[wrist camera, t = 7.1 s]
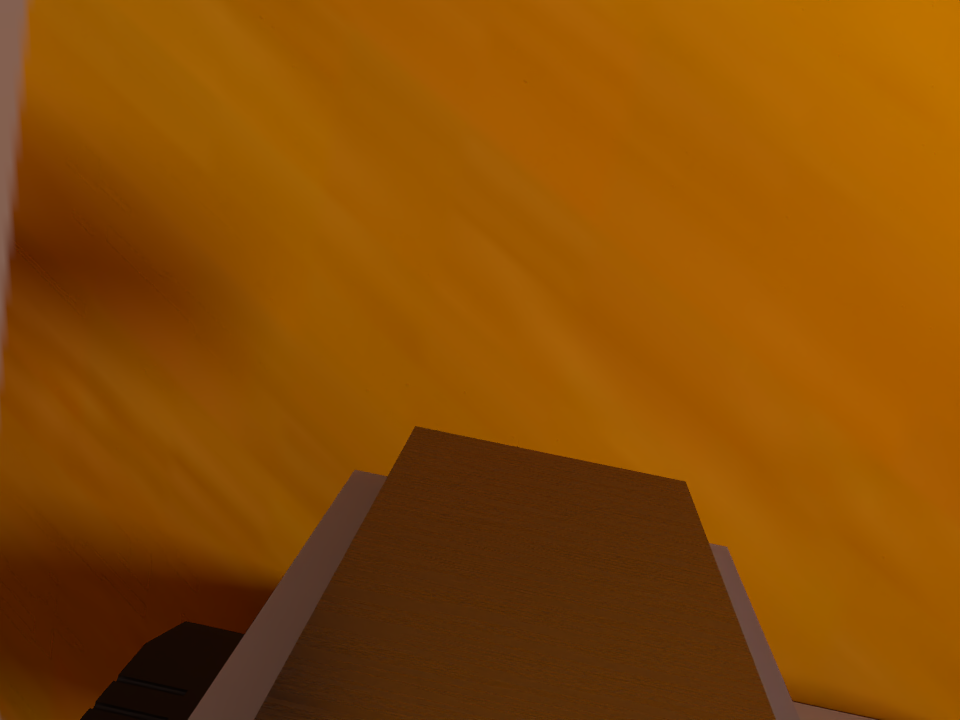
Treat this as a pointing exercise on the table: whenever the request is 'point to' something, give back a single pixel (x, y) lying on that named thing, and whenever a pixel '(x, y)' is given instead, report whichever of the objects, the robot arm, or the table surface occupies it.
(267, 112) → the table surface
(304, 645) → the square bit
